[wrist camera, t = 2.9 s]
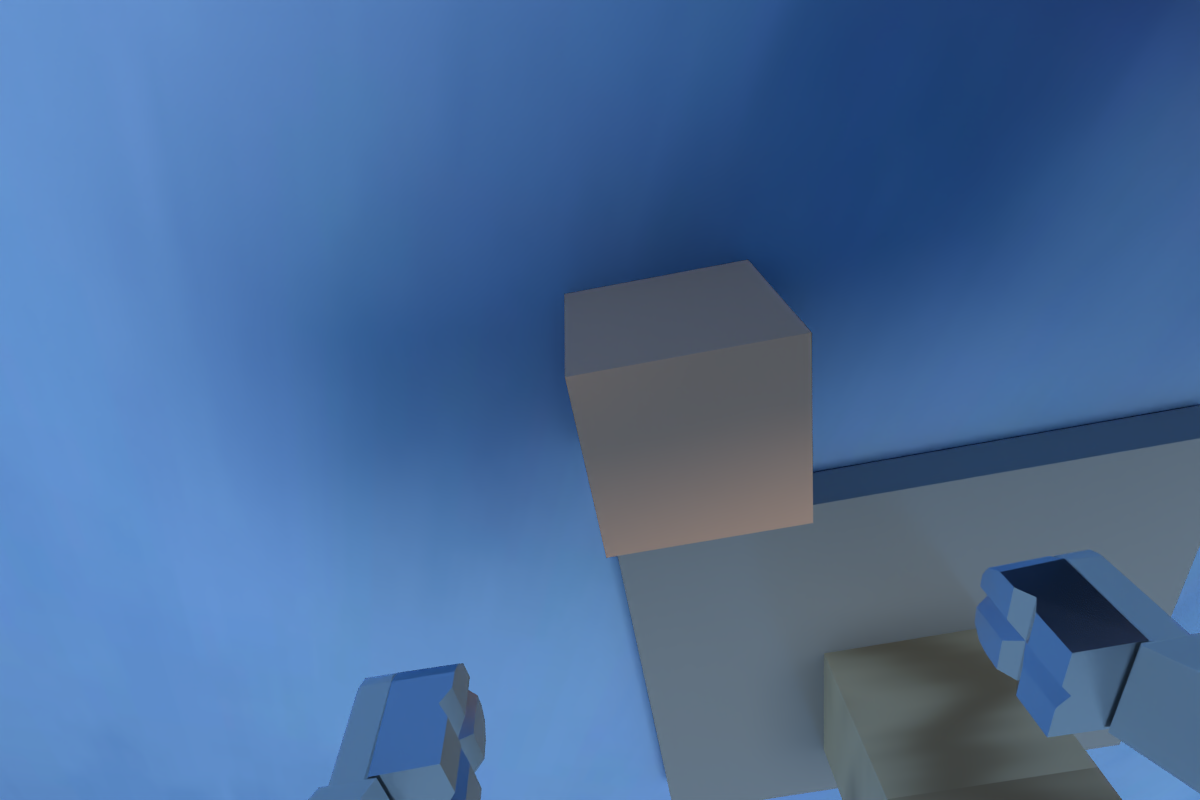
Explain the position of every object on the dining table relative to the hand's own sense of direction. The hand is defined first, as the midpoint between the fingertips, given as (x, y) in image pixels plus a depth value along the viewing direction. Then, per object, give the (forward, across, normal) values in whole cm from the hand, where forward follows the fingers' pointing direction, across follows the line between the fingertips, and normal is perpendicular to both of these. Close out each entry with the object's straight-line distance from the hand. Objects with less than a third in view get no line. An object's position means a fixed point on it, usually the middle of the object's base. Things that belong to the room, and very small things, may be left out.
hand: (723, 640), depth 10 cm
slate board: (+10, -8, +13) cm, 18 cm away
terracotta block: (+10, -1, 0) cm, 10 cm away
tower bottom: (+8, -8, +15) cm, 18 cm away
